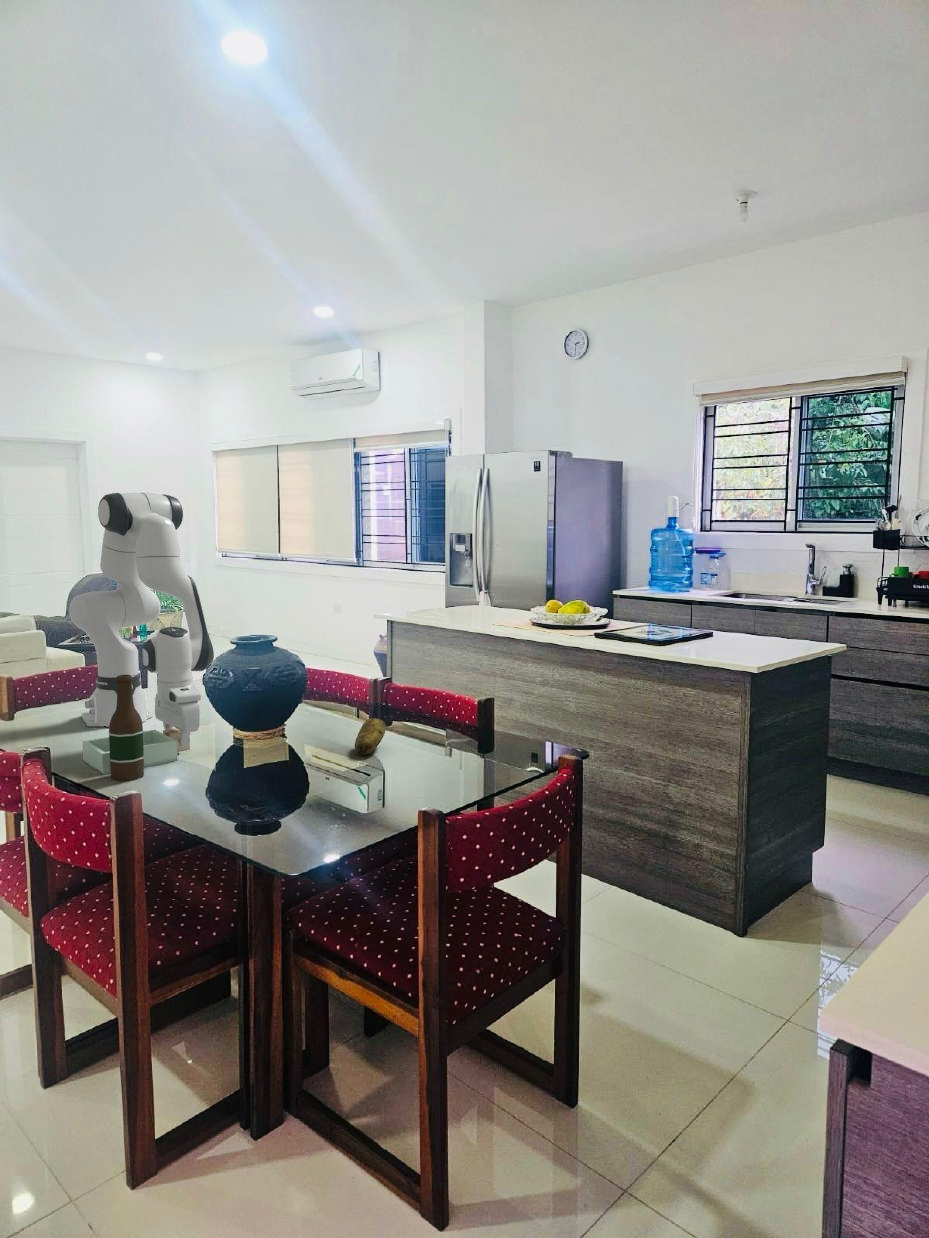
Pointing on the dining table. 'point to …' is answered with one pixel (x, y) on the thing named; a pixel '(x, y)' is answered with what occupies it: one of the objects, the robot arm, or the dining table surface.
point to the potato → (370, 736)
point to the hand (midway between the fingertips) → (176, 742)
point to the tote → (154, 744)
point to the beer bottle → (126, 735)
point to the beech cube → (177, 738)
